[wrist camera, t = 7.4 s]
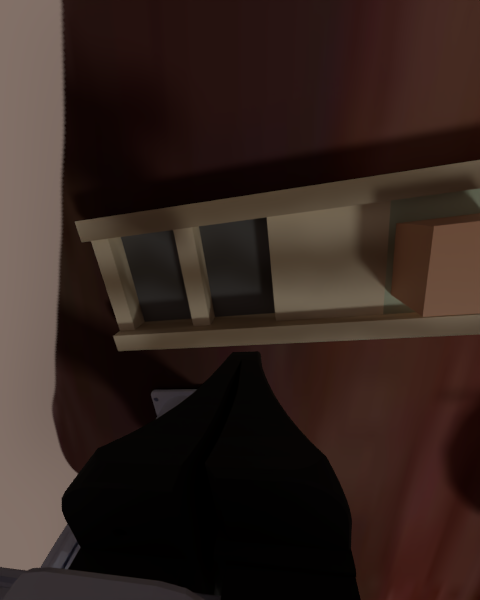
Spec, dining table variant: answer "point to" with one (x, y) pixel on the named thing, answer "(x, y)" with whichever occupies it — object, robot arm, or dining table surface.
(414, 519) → the dining table surface
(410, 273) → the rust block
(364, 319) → the trap lane
